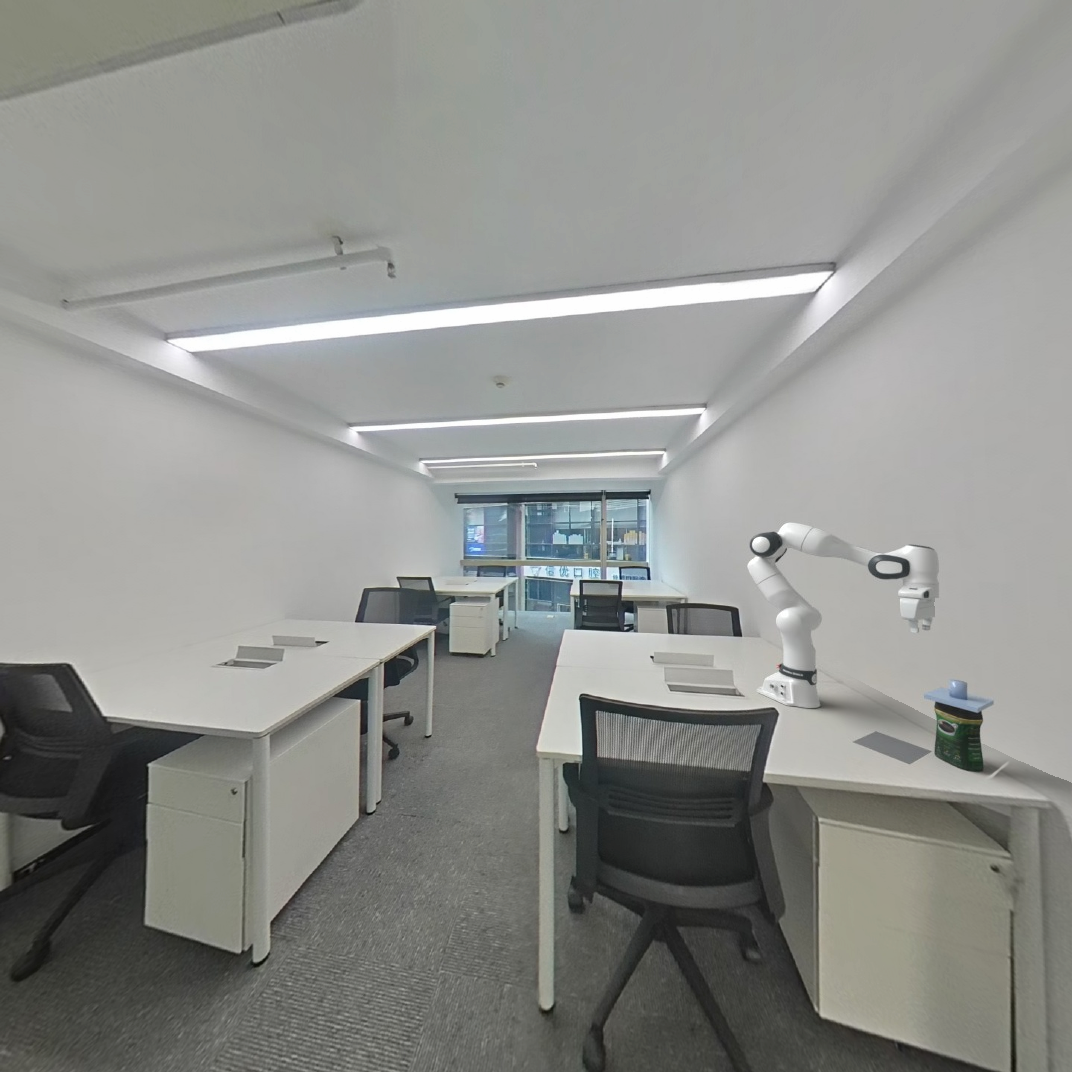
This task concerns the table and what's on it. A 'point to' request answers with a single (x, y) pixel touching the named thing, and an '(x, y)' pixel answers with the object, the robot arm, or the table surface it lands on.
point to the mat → (892, 747)
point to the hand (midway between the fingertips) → (920, 631)
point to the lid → (959, 697)
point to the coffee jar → (958, 737)
